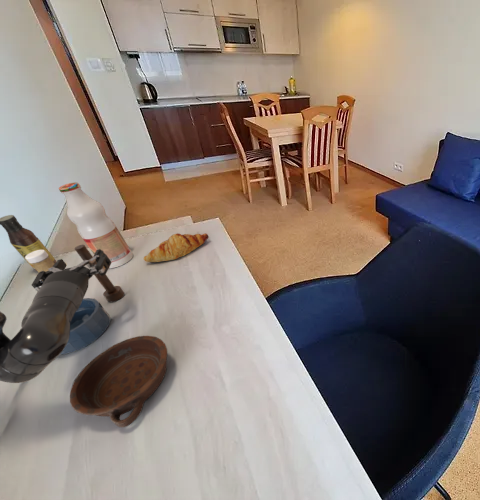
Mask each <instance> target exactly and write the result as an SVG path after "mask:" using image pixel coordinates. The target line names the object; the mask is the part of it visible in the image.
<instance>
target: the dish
mask: <svg viewBox="0 0 480 500" xmlns="http://www.w3.org/2000/svg"><path fill="white" fill-rule="evenodd" d="M167 359H168V348H167V345H166V343H165V342H164V341H163V340H162V339H161V338H159V337H156V336H153V335H139V336H134V337H130V338H127V339H124V340H122V341H119V342H117V343H116V344H114V345H112V346H110V347H108V348H107V349H105V350H104V351H102V352H101V353H100V354H98V355H96V356H95V357H94V358H93V359H92V360H91V361H90V362H88V363H87V364H86V365H85V367H84V368H83V369H81V371H80V372H79V374H78V375H77V376H76V378H75V379H74V381H73V383H72V386H71V388H70V391H69V403H70V406H71V407H72V409H73V410H74V411H75V412H76V413H79V414H81V415H85V416H86V415H88V416H98V417H109V418H110V420H111V422H112V423H113V424H114V425H115V426H117V427H119V428H126V427H128V426H130V425H131V424H132V423H134V422H135V421H136V420H137V419H138V417H139V416H140V415H141V413H142V410H143V407H144V404H145V402H146V401H147V400H148V399H149V398H150V397H151V396H152V395H153V394H154V393H155V392H156V391H157V390H158V388H159V387H160V385H161V383H162V382H163V380H164V378H165V375H166V372H167V363H168V362H167V361H168V360H167ZM130 411H131V413H129V415H128V416H126V417H125V418H123V419H121V416H122V415H124V414H126V413H128V412H130Z"/></svg>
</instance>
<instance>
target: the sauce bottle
mask: <svg viewBox="0 0 480 500" xmlns="http://www.w3.org/2000/svg"><path fill="white" fill-rule="evenodd" d="M0 226H1V227H2V228H3V229H4V230H5V231H6V233H7V236H8V240H9V244H10V245H11V246H12V247H13V248H14V249H15V250H16V251H17V252H18V253H19V255H20V256H21V257H22V258H23V259H24V260H25V261H26V262H27V263H28V264H29V266H31V268H32V269H33V270H34V271H37V270H36V269H35V268H34V267H33V265H32V264H30V263H29V262H28V261H27V260H26V259H25V257H26V255H28V254H29V253H31V252H33V251H36V250H45V251H46V252H47V254H48V255H49V257H50V258H51V260H52V261H53V262H54V263H56V262H57V260H56V259H55V257H54V256H53V254H52V253H51V252H50V251H49V249H48V248H47V247H46V246H45V245H44V244H43V242H42V241H41V240H40V239H39V238H38V237H37V235H35V233H34V232H33V231H31V230H30V229H28V228H25V227H24V226H23V225H21V224H20V222H19V221H18V219H17V217H16V216H15V215H14V214H8V215H4V216H2V217H0Z"/></svg>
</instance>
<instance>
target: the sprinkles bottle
mask: <svg viewBox="0 0 480 500" xmlns="http://www.w3.org/2000/svg"><path fill="white" fill-rule="evenodd" d="M25 259H26V260H27V261H28V262H29V263H30V264H32V265H33V267H34V268H35V269H36V270H35V269H34V268H33V269H34V270H35V271H36V272H37V273H39V272H41V271H45V272H46V271H49V270H48V269H49V268H51V267H53V265H54V264H55V263H54V262H53V261H52V260H51V258H50V257H49V255H48V254H47V252H46V251H45V250H36V251H33V252H31V253H29V254H28V255H26V257H25ZM25 259H24V260H25ZM26 260H25V261H26ZM27 261H26V262H27ZM28 262H27V263H28ZM29 263H28V264H29ZM30 264H29V265H30Z"/></svg>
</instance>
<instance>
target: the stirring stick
mask: <svg viewBox="0 0 480 500" xmlns="http://www.w3.org/2000/svg"><path fill="white" fill-rule="evenodd" d="M74 251H75V252H76V253H77V254H78V256H79V257H80V259H81V260H82V262H83V261H85V260H90V259H91V258H93V256H94V255H92V254H91V252H90V251H89V250H88V248H87V246H86V245H85V244H79V245H77V246H75V247H74ZM93 264H94V265H96V264H97V262H96V261H94V262H93ZM87 268H88V269H89V267H88V266H87ZM94 277H95V278H96V280H97V281H98V282H99V283H100V285H101V286H102V288H103V289H104V292H103V294H102V295H103V297H104V298H105V299H106V301H107V302H109V303H114V302H117V301H120V300H121V299H122V298H124V296H125V294H126V293H125V292H124V289H123V288H122V287H121V286H120V285H114V283H113V282H112V281H111V279H110V278H109V276H108V275H107V273H106V274H105V275H103V276H101V275H100V274H95V275H94Z"/></svg>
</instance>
